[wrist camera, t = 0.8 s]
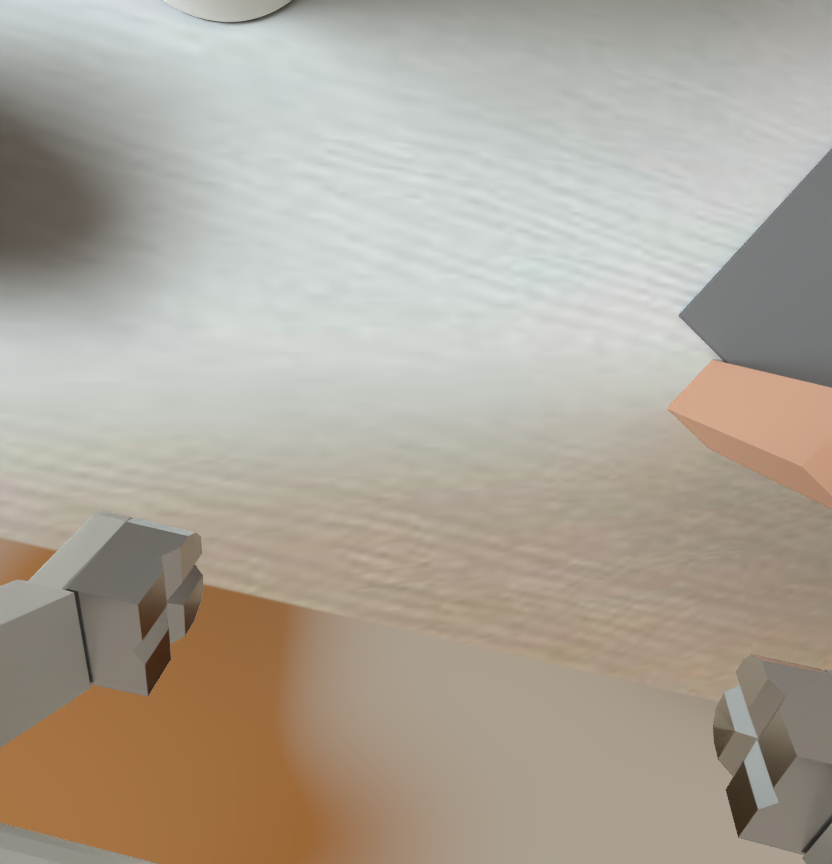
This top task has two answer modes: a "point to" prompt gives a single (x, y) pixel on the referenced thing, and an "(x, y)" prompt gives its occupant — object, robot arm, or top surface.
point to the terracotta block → (764, 424)
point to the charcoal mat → (777, 290)
